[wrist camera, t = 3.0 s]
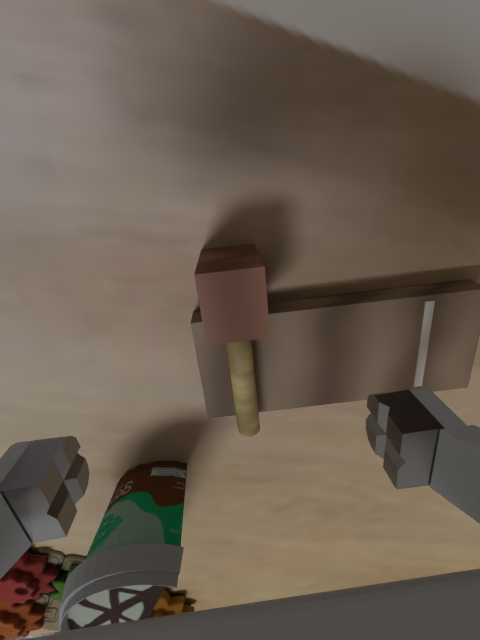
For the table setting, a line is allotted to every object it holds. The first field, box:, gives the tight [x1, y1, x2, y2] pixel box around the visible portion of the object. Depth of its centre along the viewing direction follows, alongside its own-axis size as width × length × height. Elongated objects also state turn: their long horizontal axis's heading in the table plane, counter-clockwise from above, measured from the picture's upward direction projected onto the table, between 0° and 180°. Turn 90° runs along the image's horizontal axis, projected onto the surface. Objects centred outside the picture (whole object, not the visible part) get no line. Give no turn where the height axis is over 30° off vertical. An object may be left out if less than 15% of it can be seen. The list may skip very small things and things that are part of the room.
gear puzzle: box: [0, 548, 194, 640], centre depth 34 cm, size 31×16×4 cm, turn 66°
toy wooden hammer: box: [194, 244, 270, 436], centre depth 21 cm, size 4×13×6 cm, turn 6°
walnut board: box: [191, 280, 480, 418], centre depth 24 cm, size 20×8×2 cm, turn 96°
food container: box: [59, 461, 187, 632], centre depth 25 cm, size 12×6×10 cm, turn 155°
